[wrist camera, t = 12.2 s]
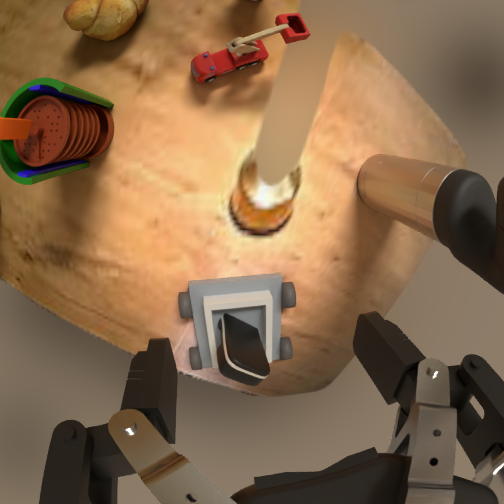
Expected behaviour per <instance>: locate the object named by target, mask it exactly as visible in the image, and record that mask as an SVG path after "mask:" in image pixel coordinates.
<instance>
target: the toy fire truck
mask: <svg viewBox="0 0 504 504" xmlns="http://www.w3.org/2000/svg"><path fill="white" fill-rule="evenodd" d="M275 24H276V27H273V28H270V29H267V30H264V31H261V32H258V33H255V34H253V35H250V36H247V37H245V38H242V37H238V38H235V39H234V40H232V41H230V42H229V43H227V44H226V46H227V49H224V50H222V51H219V52H216V53H214V54H211V55H210V53H209V52H204V53H202V54H199V55H198V56H196V57H195V58H194V59H193V60H192V61H191V71H192V74H193V76H194V78H195V79H196V80H197V81H198V82H199V83H203V82H205V81H206V82H210V81H213V80H215V79H216V77H218V76H221V75H223V74H226V73H228V72H231V71H234V70H235V69H237V70H241V69H244V68H245V67H247V65H246V64H247V63H248V64H249V66H253V65H256V64H258V63H259V62H258V60H259V61H264V60H266V59H267V57H268V56H269V55H268V53H267V51H266V49H265V47H264V45H263V43H262V41H261V39H262V38H265V37H268V36H271V35H274V34H276V33H279V32H280V33H281V35H282V37H283V39H284V41H285V43H286V44H288V43H291V42H296V41H300V40H305V39H307V38H308V37H309V36H310V33H309V31H308V29H307V27H306V25H305V23H304V21H303V19H302V17H301V16H300V14H299V13H292V14H282V15H278V16H277V17H276V21H275Z"/></svg>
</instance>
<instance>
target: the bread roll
mask: <svg viewBox="0 0 504 504" xmlns="http://www.w3.org/2000/svg"><path fill="white" fill-rule="evenodd" d="M148 1H149V0H77V1H75V2H73V3H72V4H70V5H69V6H68V7H67V8H66V9H65V11H64V13H63V18H64V20H65V21H66V22H67V24H68V25H69V26H70V28H71V29H73V30H75V31H79V30H82V31H83V32H84V34H86V35H88V36H90V37H94V38H97V39H101V40H103V41H108V40H114V39H116V38H118V37H119V36H121V35H123V34H124V33H126V32H127V31H128V30H129V29H130V28H131V27H132V26H133V24H134V23H135V21H136V18H137V17H138V16H139V15H140V14H141V13H142V11H143V10H144V9H145V7H146V6H147V3H148Z"/></svg>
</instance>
